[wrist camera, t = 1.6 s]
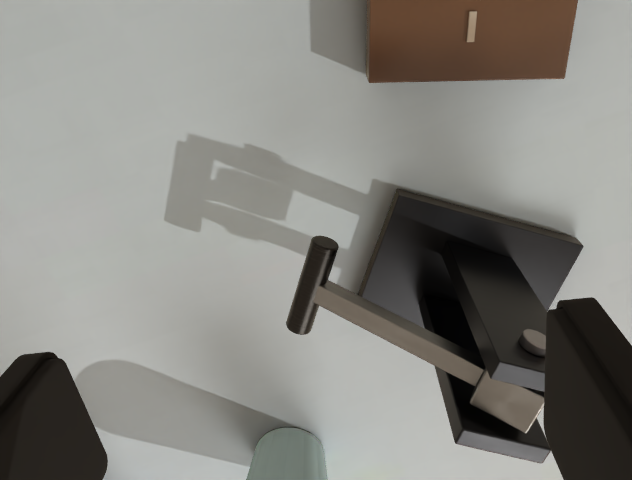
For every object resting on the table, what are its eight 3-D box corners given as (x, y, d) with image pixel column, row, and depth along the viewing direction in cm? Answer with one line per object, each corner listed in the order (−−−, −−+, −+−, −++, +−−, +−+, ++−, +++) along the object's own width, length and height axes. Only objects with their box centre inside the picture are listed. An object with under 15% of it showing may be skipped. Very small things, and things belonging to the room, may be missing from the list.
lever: (297, 312, 31) (276, 330, 29) (323, 229, 29) (302, 243, 27) (516, 429, 27) (511, 459, 25) (567, 345, 25) (565, 370, 23)
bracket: (353, 306, 37) (362, 456, 25) (396, 188, 33) (431, 300, 21) (515, 347, 38) (595, 509, 26) (576, 237, 34) (701, 369, 22)
